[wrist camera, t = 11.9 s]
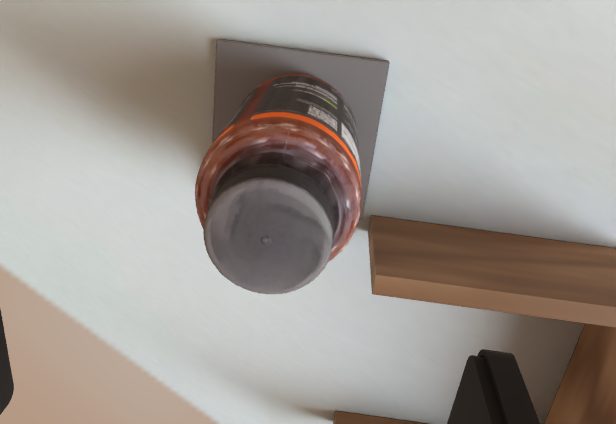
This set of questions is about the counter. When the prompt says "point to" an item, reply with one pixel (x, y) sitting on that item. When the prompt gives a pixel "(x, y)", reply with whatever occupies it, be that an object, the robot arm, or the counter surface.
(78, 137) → the counter surface
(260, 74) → the mat
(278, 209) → the supplement bottle
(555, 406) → the angled wooden boards
